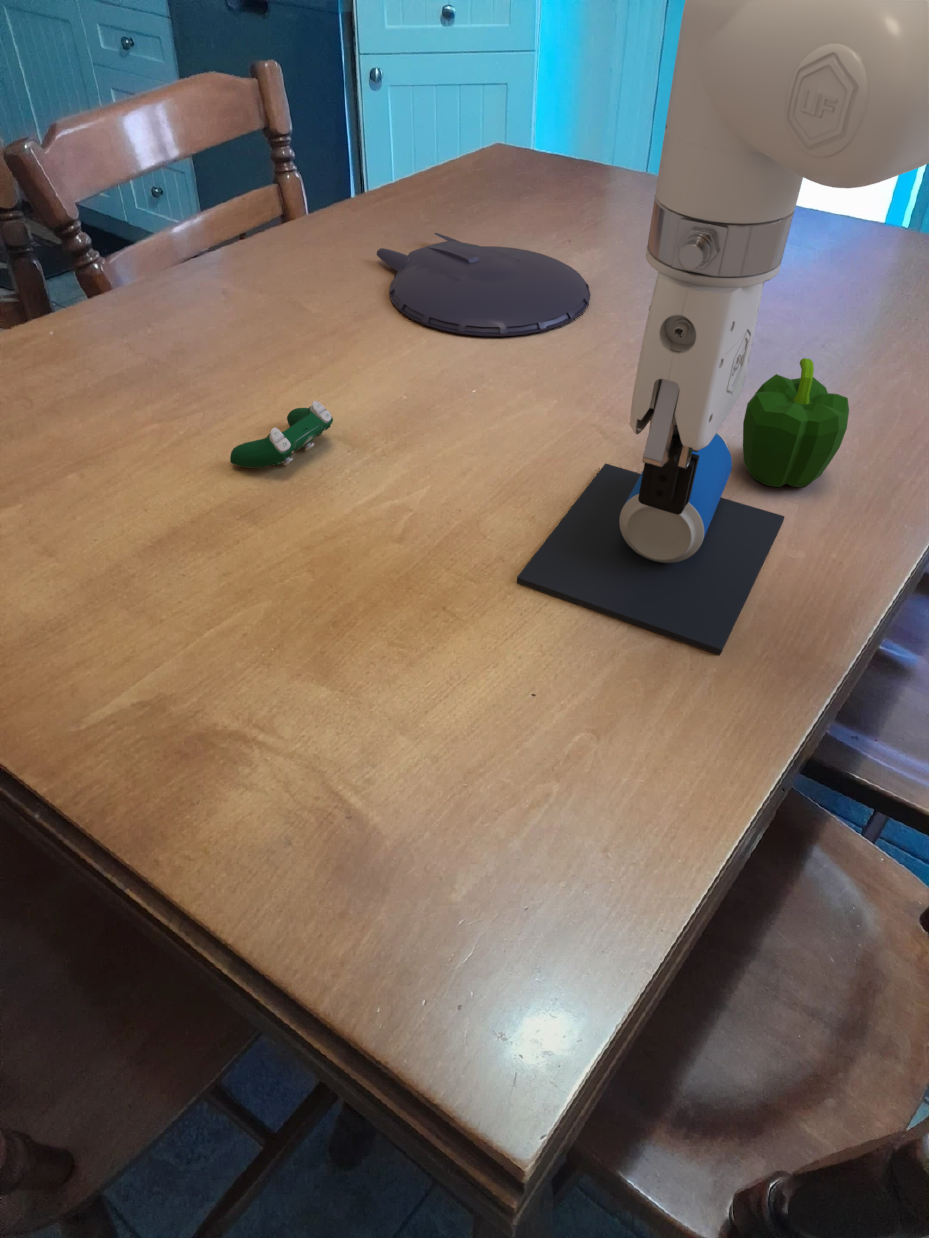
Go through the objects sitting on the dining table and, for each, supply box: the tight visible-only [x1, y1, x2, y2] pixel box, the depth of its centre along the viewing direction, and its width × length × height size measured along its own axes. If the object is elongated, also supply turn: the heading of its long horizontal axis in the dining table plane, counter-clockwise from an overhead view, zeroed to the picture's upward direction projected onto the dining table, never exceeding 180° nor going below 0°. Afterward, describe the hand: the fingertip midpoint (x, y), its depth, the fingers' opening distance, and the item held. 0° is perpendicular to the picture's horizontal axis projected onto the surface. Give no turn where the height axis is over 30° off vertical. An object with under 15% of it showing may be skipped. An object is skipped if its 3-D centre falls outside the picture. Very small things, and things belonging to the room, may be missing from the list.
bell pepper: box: [742, 357, 850, 488], centre depth 77 cm, size 8×8×10 cm
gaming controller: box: [229, 400, 334, 469], centre depth 80 cm, size 9×4×6 cm
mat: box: [516, 462, 785, 656], centre depth 72 cm, size 16×18×1 cm
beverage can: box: [619, 431, 733, 563], centre depth 71 cm, size 6×6×12 cm
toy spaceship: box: [376, 232, 591, 337], centre depth 108 cm, size 28×24×3 cm
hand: (663, 503), depth 63 cm, fingers closed
